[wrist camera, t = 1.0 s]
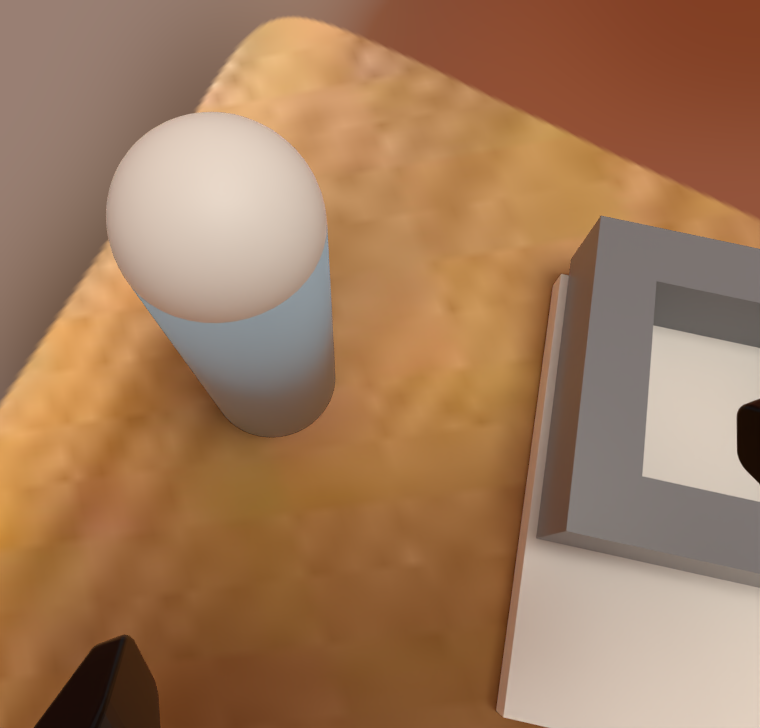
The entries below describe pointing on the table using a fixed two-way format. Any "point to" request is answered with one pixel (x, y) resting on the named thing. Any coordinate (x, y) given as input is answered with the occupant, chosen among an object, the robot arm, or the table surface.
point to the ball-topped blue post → (231, 264)
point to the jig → (641, 493)
